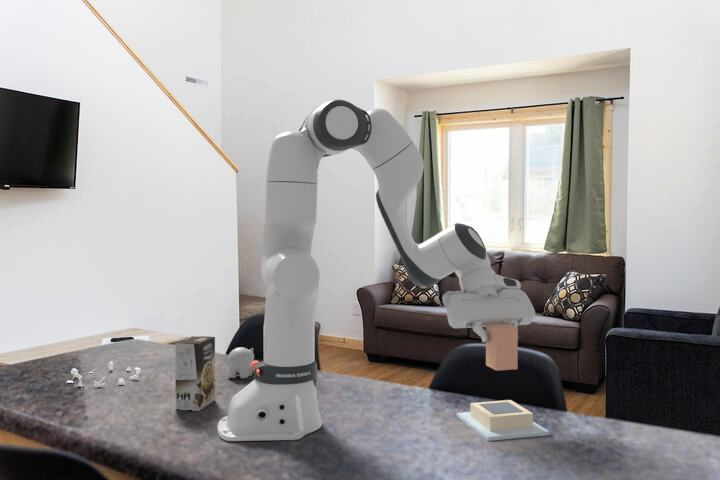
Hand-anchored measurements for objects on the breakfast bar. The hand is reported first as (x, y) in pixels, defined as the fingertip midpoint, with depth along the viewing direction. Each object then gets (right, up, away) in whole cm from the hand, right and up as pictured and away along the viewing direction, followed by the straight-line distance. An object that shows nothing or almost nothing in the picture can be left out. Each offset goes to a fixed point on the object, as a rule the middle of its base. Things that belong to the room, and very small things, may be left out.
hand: (500, 340), depth 135 cm
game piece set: (-102, -18, +38) cm, 111 cm away
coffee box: (-71, -18, +15) cm, 74 cm away
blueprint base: (0, -19, 0) cm, 19 cm away
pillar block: (0, -6, 0) cm, 6 cm away
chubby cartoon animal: (-64, -17, +43) cm, 79 cm away
